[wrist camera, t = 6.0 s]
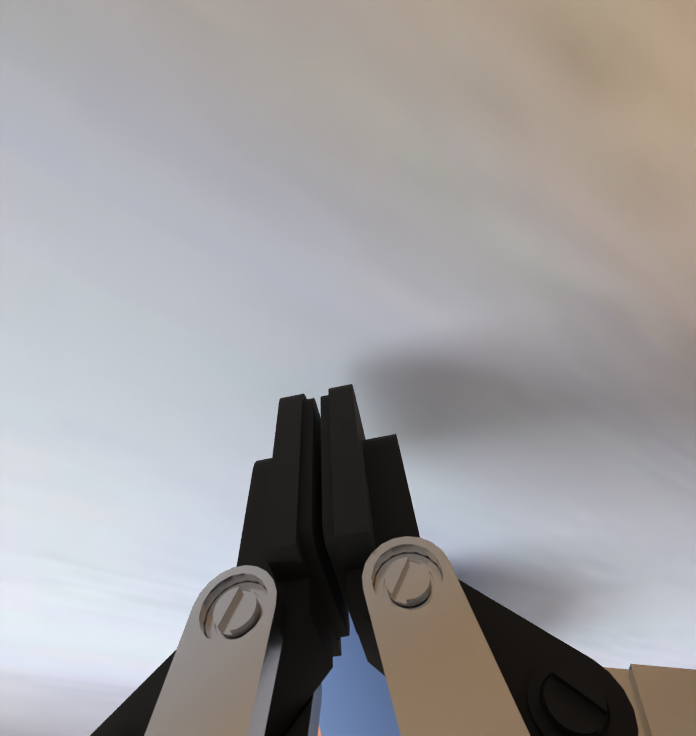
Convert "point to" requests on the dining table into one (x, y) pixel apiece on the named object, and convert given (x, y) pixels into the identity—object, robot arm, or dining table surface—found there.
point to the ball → (356, 695)
